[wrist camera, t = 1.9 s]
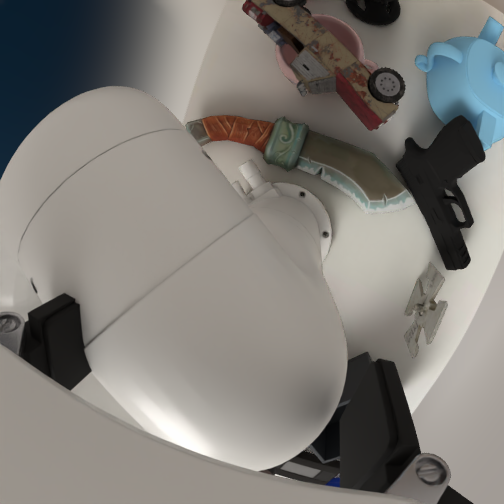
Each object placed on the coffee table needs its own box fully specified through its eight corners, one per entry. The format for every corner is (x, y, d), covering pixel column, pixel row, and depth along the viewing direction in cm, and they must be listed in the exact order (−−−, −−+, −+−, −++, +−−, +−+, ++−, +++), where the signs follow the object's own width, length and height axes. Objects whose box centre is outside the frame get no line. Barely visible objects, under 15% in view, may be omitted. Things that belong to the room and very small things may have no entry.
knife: (429, 183, 31) (196, 84, 32) (404, 239, 33) (174, 140, 35) (420, 181, 33) (204, 90, 35) (397, 233, 36) (184, 141, 38)
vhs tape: (323, 479, 48) (322, 486, 46) (260, 461, 49) (258, 468, 48) (343, 462, 46) (343, 469, 44) (276, 442, 47) (274, 450, 45)
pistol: (523, 259, 23) (452, 260, 35) (464, 108, 21) (395, 143, 33) (516, 273, 23) (442, 272, 34) (454, 115, 21) (383, 151, 33)
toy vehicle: (402, 109, 26) (348, 151, 29) (288, -3, 25) (238, 36, 28) (419, 97, 20) (352, 148, 23) (277, -33, 19) (216, 12, 22)
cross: (407, 329, 38) (427, 369, 28) (391, 325, 38) (408, 366, 29) (433, 260, 35) (464, 286, 26) (416, 255, 35) (444, 280, 26)
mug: (272, 90, 34) (264, 75, 28) (288, 26, 31) (284, 4, 26) (366, 114, 32) (376, 103, 27) (379, 48, 30) (388, 29, 24)
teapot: (491, 184, 31) (543, 191, 19) (389, 129, 32) (420, 111, 21) (512, 68, 25) (555, 47, 14) (419, 11, 26) (445, -31, 15)
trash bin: (293, 383, 43) (287, 421, 35) (367, 351, 40) (375, 388, 32) (324, 426, 45) (322, 463, 36) (391, 399, 41) (400, 436, 33)
